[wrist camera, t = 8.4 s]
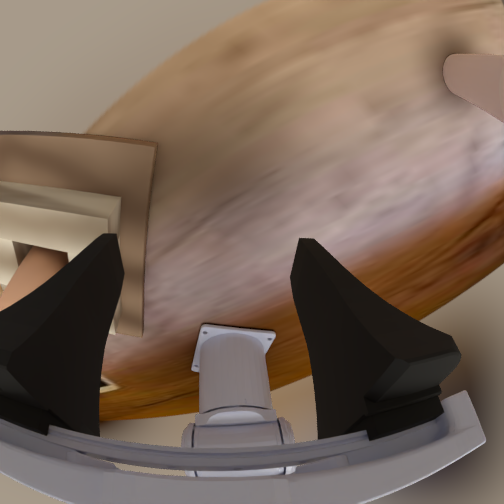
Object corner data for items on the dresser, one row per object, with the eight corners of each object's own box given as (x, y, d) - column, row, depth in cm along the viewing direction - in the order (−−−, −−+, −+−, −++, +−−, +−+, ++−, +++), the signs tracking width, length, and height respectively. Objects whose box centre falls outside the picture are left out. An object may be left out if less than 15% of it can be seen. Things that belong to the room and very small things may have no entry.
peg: (78, 271, 22) (47, 344, 16) (42, 262, 21) (5, 330, 15) (75, 234, 20) (33, 308, 14) (36, 225, 19) (-11, 293, 12)
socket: (143, 330, 29) (138, 361, 26) (20, 301, 25) (7, 327, 22) (158, 142, 18) (143, 162, 14) (-14, 131, 14) (-43, 148, 11)
